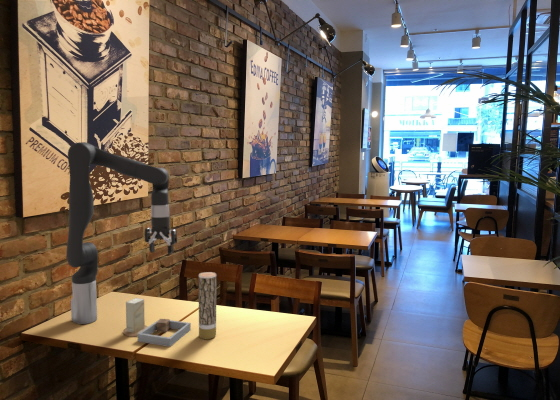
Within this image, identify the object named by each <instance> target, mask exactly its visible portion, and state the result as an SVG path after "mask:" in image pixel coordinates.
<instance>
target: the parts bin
mask: <svg viewBox="0 0 560 400" xmlns="http://www.w3.org/2000/svg"><path fill="white" fill-rule="evenodd" d="M157 321H158V320H156V321H154V322H153V323H151V324H150V325H149V326H148V327H147V328H146V329H144V330H143V331H141V332H140V333H138V336H137V342H139V343H146V344H152V345H159V346H164V347H172V346H173V345H174V344H176V343H177V342H178V341H179V340H180V339H182V338H183V337H184V336H185V335H186V334H188V333H189V332H190V331H191V329H192V328H191V322H186V321H177V320H171V319H170V329H172V330H173V329H174V330H177V331H176V332H174V333H173V334H172V335H171V336H169V337H167V336H163V335H157V334H156V335H155V334H153V333H155V332H157Z"/></svg>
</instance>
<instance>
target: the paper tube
mask: <svg viewBox="0 0 560 400" xmlns="http://www.w3.org/2000/svg"><path fill="white" fill-rule="evenodd" d="M216 335H217V273H216V272H212V271H208V272H207V271H206V272H205V271H204V272H200V273H199V274H198V336H199V337H200V338H201V339H202V340H203V339H205V340H210V339H213V338H214V337H216Z"/></svg>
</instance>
